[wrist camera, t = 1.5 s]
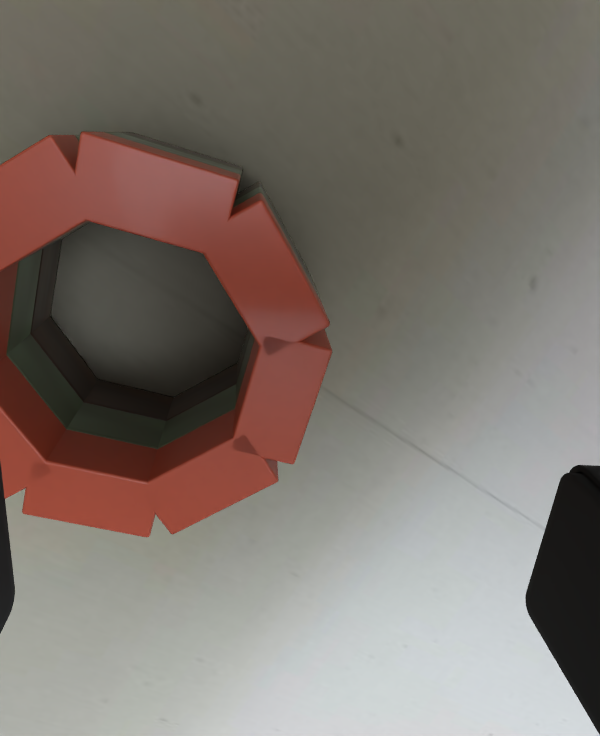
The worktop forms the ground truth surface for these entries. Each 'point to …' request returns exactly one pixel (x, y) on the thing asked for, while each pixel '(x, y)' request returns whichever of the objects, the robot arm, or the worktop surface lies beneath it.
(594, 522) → the robot arm
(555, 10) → the worktop surface
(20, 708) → the worktop surface
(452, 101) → the worktop surface
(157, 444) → the ring stack
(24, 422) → the terracotta ring
